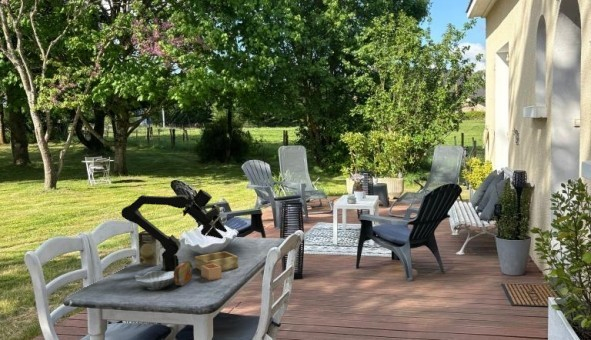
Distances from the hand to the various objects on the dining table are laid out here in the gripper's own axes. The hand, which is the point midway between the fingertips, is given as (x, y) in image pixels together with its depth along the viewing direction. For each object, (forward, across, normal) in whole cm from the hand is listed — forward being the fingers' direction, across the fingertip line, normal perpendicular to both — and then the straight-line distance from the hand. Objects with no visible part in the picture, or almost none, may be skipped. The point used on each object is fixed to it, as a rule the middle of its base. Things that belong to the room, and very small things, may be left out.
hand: (224, 234), depth 261 cm
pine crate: (+7, -3, +14) cm, 16 cm away
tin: (-2, -27, +18) cm, 32 cm away
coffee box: (-19, +5, +38) cm, 43 cm away
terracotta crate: (+6, -19, +12) cm, 23 cm away
